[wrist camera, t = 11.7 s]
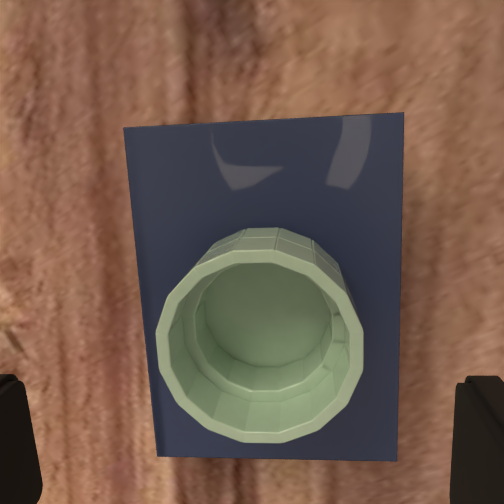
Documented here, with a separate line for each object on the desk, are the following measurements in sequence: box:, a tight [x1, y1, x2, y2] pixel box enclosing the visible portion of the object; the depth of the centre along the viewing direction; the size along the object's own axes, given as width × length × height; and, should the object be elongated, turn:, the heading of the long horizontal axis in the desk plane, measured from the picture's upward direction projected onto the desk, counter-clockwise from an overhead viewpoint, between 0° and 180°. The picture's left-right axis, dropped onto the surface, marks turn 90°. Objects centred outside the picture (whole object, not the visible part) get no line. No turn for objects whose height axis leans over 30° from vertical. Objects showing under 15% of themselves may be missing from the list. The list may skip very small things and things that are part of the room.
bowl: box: [155, 227, 364, 443], centre depth 18 cm, size 7×7×5 cm
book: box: [123, 112, 404, 461], centre depth 22 cm, size 15×11×3 cm
